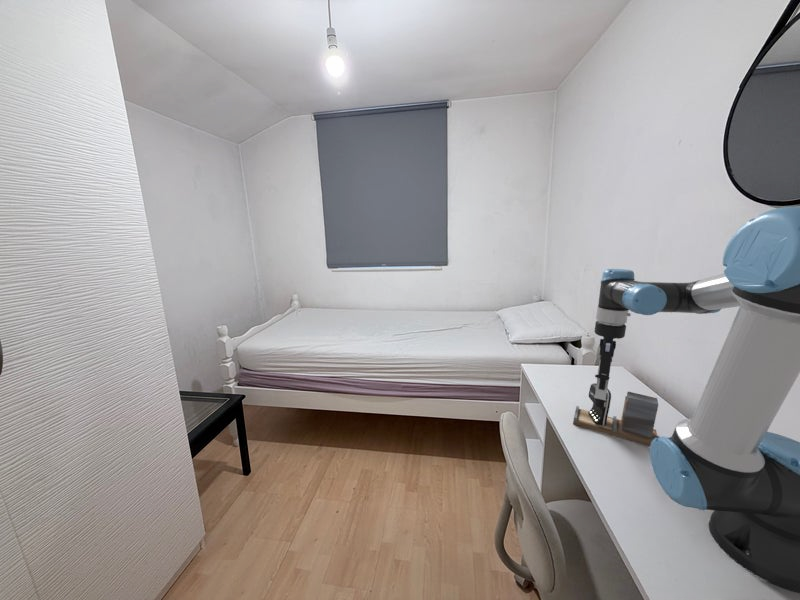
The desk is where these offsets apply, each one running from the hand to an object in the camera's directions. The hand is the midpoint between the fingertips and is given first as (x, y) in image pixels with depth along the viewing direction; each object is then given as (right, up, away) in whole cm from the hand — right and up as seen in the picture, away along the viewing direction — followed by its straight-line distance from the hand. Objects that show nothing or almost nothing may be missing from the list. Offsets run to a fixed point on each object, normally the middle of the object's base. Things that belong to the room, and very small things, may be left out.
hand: (600, 389), depth 98 cm
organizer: (+4, -12, +1) cm, 13 cm away
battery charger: (0, -10, +3) cm, 11 cm away
